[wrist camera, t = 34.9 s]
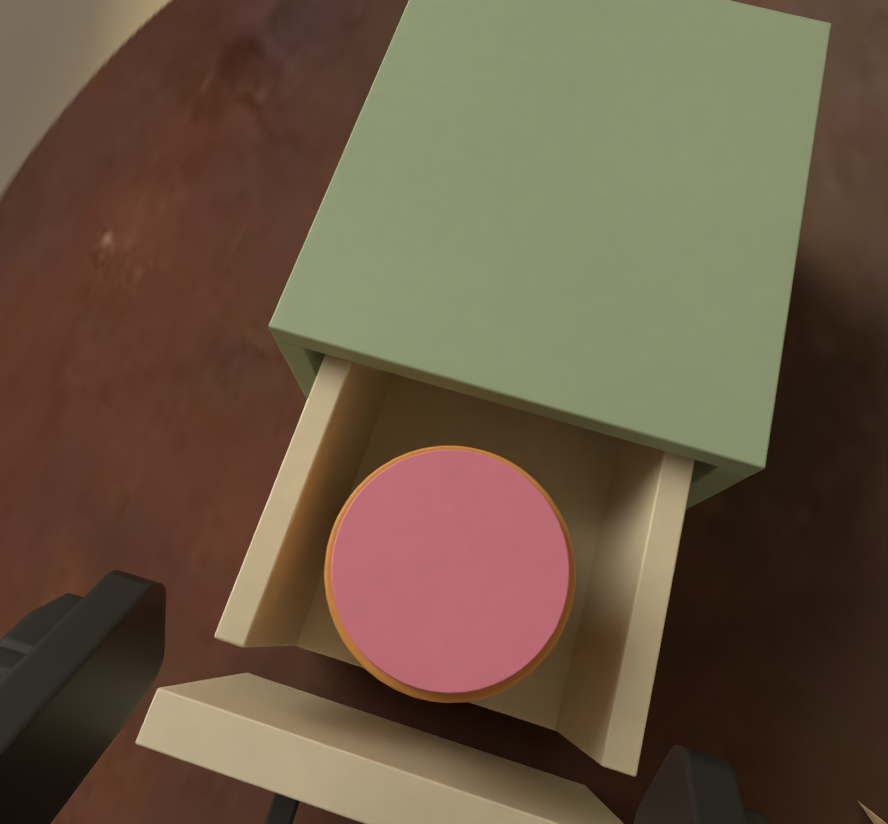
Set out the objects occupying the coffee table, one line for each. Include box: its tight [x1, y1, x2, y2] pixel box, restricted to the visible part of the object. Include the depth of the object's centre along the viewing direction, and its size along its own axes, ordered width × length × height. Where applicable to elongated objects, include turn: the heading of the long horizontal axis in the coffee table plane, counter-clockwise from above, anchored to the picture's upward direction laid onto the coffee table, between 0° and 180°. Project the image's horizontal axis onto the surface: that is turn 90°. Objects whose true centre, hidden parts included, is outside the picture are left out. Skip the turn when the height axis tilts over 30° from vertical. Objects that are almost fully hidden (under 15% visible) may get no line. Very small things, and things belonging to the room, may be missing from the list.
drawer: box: [136, 354, 695, 824], centre depth 19 cm, size 18×11×7 cm, turn 163°
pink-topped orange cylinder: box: [324, 445, 576, 703], centre depth 18 cm, size 5×5×8 cm
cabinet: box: [269, 0, 831, 509], centre depth 23 cm, size 15×13×9 cm
